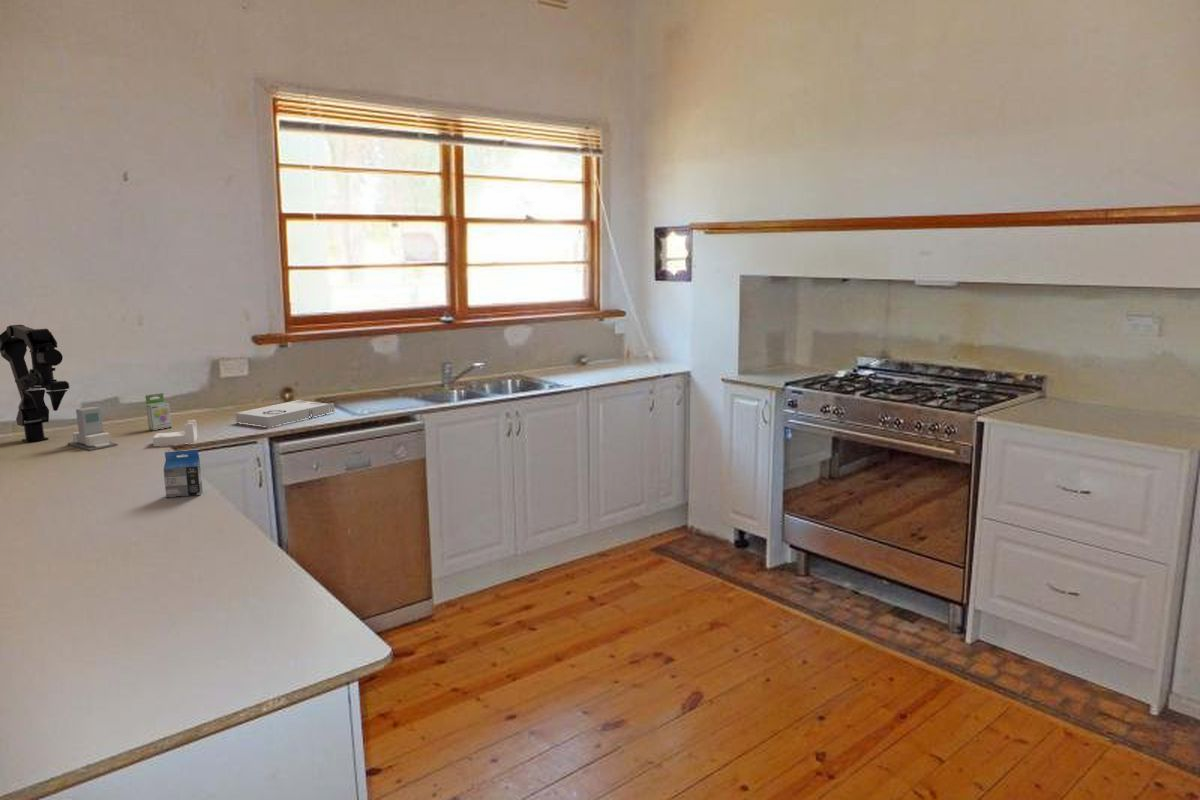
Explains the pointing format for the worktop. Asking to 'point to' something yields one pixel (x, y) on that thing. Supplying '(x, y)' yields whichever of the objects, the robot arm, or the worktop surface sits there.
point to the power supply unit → (283, 413)
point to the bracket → (177, 436)
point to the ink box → (158, 412)
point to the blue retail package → (182, 474)
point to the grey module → (89, 422)
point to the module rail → (93, 441)
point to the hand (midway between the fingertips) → (47, 410)
